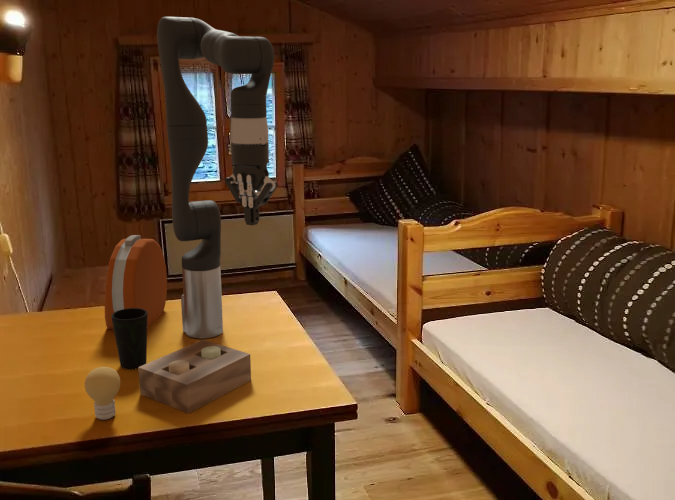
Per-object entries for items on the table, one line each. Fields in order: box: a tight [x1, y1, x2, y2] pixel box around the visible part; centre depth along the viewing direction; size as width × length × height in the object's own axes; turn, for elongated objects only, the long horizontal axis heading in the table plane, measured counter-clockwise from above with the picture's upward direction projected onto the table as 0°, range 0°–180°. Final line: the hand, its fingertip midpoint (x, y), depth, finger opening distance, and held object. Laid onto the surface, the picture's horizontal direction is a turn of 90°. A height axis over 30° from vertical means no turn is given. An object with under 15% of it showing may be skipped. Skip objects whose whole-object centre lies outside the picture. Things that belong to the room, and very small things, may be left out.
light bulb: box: [84, 366, 121, 421], centre depth 134 cm, size 6×6×10 cm
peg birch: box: [169, 360, 189, 375], centre depth 143 cm, size 4×4×7 cm
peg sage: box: [201, 346, 221, 360], centre depth 150 cm, size 4×4×7 cm
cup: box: [111, 308, 148, 370], centre depth 157 cm, size 8×8×12 cm
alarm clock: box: [104, 234, 168, 330], centre depth 183 cm, size 22×10×23 cm, turn 172°
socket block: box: [137, 339, 252, 414], centre depth 146 cm, size 14×18×6 cm
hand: (252, 224), depth 146 cm, fingers closed
